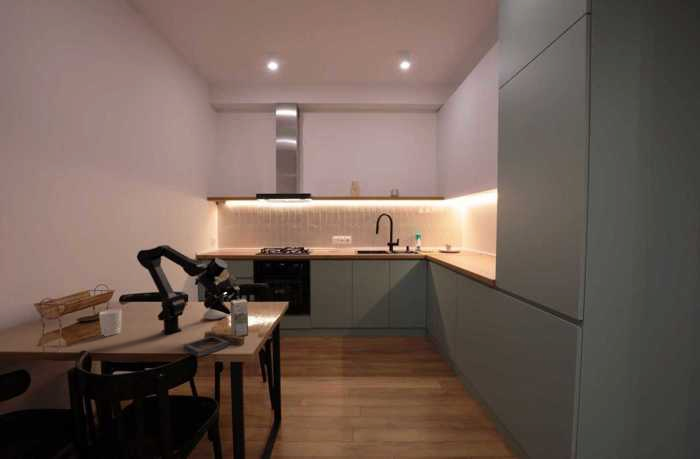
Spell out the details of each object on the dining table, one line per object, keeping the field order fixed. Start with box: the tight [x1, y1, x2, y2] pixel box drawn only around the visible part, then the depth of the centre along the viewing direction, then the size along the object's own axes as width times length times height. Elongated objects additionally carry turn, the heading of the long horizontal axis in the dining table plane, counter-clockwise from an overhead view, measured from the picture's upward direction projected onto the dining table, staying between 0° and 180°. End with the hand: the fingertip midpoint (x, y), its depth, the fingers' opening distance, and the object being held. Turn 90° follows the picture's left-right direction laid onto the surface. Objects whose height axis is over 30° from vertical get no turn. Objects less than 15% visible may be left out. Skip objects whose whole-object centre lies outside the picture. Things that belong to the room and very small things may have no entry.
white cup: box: [98, 308, 123, 337], centre depth 135 cm, size 8×8×10 cm
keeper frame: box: [183, 335, 229, 358], centre depth 115 cm, size 11×11×2 cm
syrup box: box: [229, 298, 249, 337], centre depth 129 cm, size 6×6×14 cm
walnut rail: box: [203, 330, 245, 346], centre depth 122 cm, size 20×2×2 cm, turn 65°
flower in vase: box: [202, 268, 230, 320], centre depth 155 cm, size 13×11×25 cm
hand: (236, 310), depth 130 cm, fingers open, 9 cm apart
